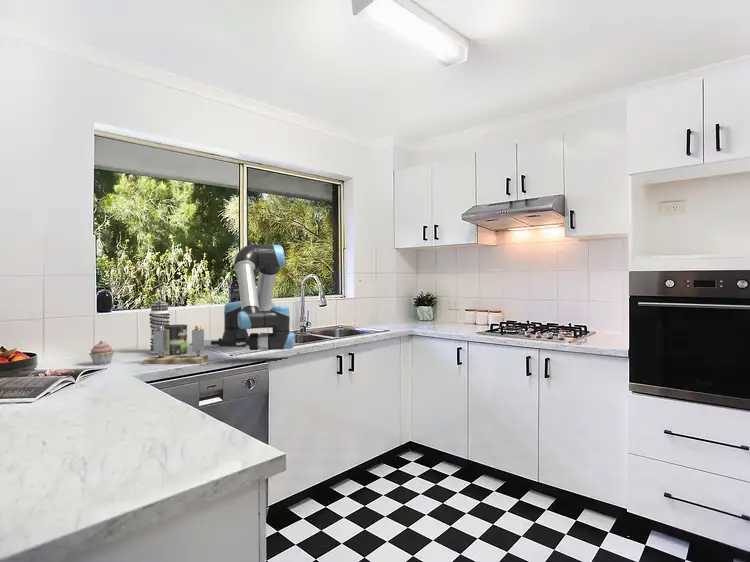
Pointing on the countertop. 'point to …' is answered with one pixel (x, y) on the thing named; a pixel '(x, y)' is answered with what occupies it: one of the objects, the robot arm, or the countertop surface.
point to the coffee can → (176, 340)
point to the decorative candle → (158, 318)
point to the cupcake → (101, 353)
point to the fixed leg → (159, 341)
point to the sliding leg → (197, 340)
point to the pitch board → (176, 359)
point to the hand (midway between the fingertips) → (204, 342)
